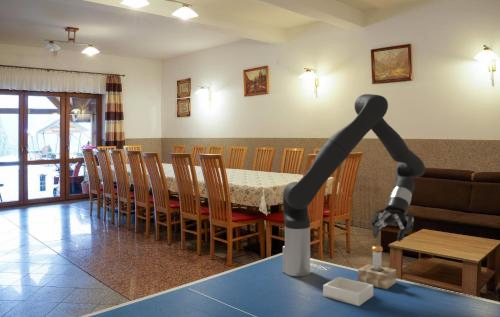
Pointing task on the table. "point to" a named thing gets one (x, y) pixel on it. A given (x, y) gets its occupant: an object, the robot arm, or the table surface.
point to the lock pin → (377, 258)
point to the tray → (348, 291)
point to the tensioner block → (377, 276)
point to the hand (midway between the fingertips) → (386, 238)
